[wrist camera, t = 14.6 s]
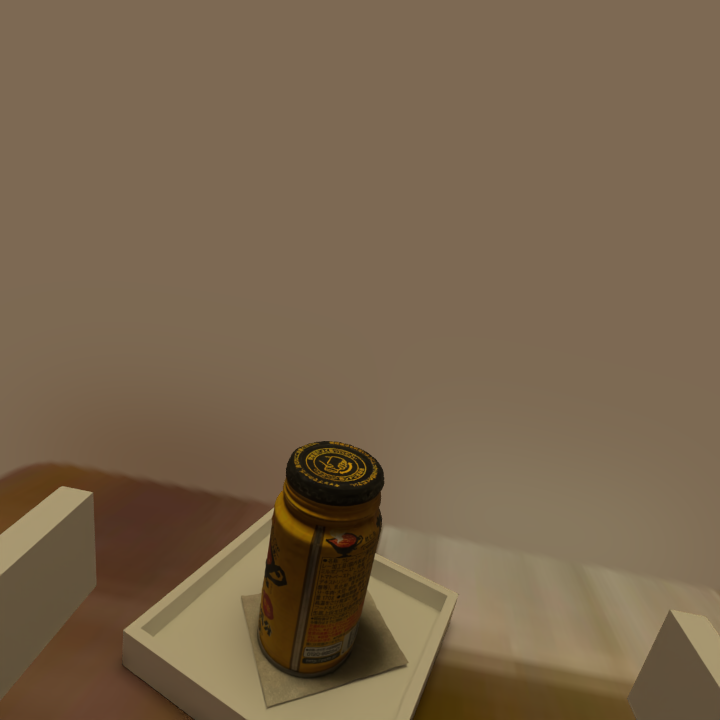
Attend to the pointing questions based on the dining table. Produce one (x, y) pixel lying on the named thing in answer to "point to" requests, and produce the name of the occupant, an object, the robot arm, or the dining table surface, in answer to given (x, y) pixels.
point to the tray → (235, 652)
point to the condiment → (321, 577)
